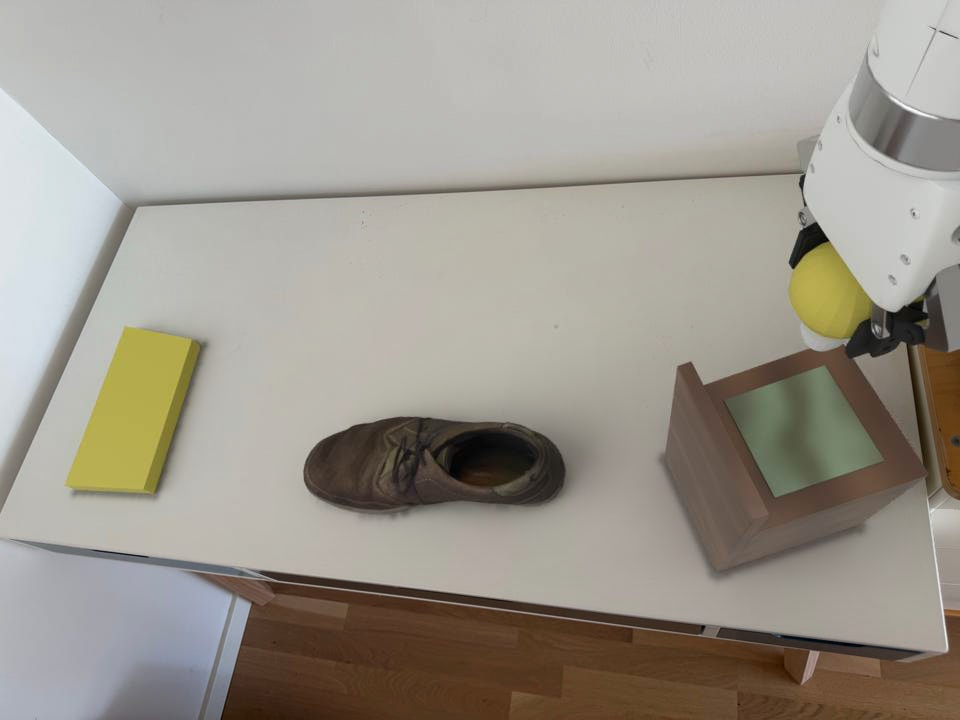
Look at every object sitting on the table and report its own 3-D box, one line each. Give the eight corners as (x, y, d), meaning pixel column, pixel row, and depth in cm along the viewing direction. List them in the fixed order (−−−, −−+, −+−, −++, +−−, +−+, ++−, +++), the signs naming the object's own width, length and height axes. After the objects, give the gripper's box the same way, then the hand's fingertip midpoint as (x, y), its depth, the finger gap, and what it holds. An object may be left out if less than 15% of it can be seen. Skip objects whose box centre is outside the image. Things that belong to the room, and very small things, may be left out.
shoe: (331, 416, 84) (297, 384, 76) (571, 437, 76) (563, 404, 68) (306, 507, 79) (266, 484, 71) (559, 539, 72) (550, 519, 63)
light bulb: (883, 317, 48) (938, 235, 39) (852, 392, 46) (902, 323, 37) (790, 286, 51) (822, 203, 42) (757, 356, 49) (783, 284, 40)
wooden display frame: (794, 413, 72) (861, 301, 51) (859, 525, 66) (964, 449, 45) (664, 458, 73) (677, 365, 52) (715, 572, 67) (753, 520, 46)
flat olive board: (154, 493, 85) (205, 331, 95) (143, 489, 83) (196, 324, 93) (76, 489, 88) (134, 333, 98) (64, 485, 86) (124, 325, 96)
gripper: (1192, 206, 24) (973, 396, 40) (919, -47, 32) (827, 192, 48) (989, 273, 24) (852, 434, 40) (772, 7, 33) (728, 226, 48)
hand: (839, 301), depth 44 cm, fingers closed on light bulb, 6 cm apart
